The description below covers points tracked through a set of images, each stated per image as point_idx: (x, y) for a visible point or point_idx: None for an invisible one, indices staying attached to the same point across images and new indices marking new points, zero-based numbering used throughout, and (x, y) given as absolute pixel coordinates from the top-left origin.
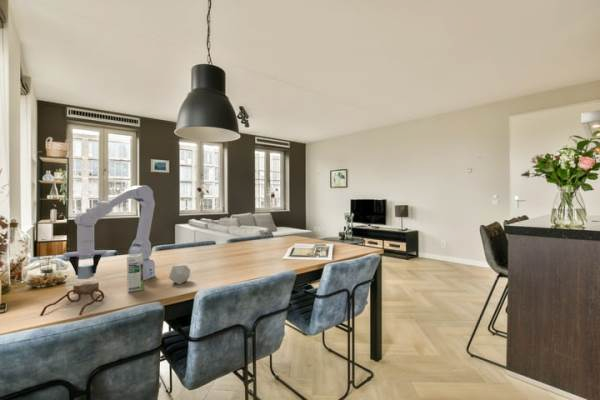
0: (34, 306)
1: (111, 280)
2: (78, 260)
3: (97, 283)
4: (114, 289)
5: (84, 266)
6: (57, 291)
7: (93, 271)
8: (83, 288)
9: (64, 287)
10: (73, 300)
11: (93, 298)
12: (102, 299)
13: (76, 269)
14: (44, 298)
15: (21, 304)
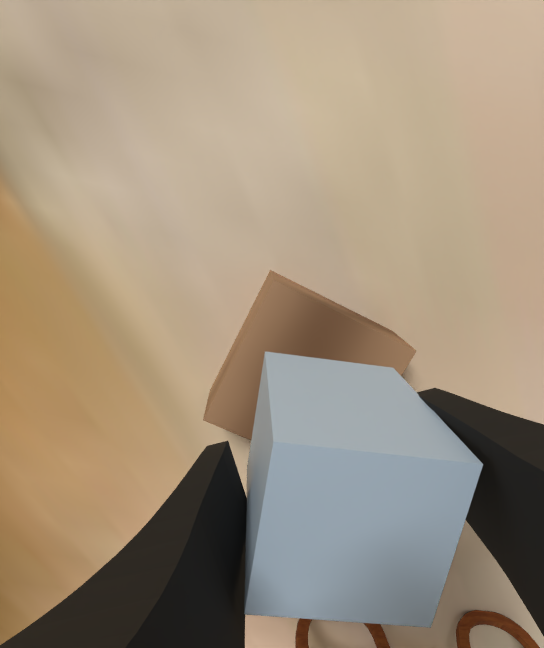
0: None
1: (428, 5)
2: (176, 616)
3: (405, 359)
4: (534, 381)
5: (362, 607)
6: (48, 343)
7: None
8: None
9: (23, 212)
10: None
11: (467, 636)
12: (520, 634)
13: (240, 596)
14: (73, 508)
15: (3, 599)
